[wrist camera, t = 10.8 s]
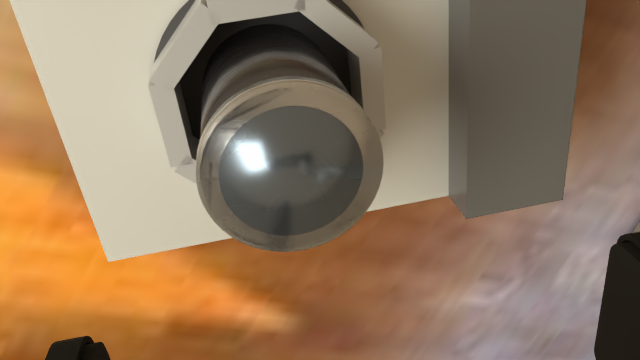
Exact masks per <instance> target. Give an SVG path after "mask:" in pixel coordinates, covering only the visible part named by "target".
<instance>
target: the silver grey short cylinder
mask: <svg viewBox="0 0 640 360" xmlns="http://www.w3.org/2000/svg"><path fill="white" fill-rule="evenodd" d="M383 166H384V162H383V150H382V144H381V141H380V138H379V135H378V133H377V131H376V129H375V127H374V125H373V123H372V122H371V120H370V118H369V117H368V115H367V114H366V113H365V111H364V110H363V108H362V107H361V106H360V105H359V104H358V103H357V102H356V101H355V100H354V99H353V98H352V97H351V96H350V94H349V93H348V91H347V89H346V88H345V86H344V85H343V83H342V82H341V80H340V79H339V77H338V75H337V74H336V72H335V71H334V69H333V68H332V66H331V65H330V63H329V61H328V60H327V58H326V57H325V55H324V54H323V52H322V51H321V50H320V48H319V47H318V46H317V45H316V44H315V43H314V42H313V41H312V40H311V39H310V38H309V37H307V36H306V35H304V34H303V33H301V32H299V31H297V30H295V29H293V28H290V27H286V26H283V25H276V24H261V25H254V26H250V27H247V28H244V29H242V30H239V31H237V32H236V33H234V34H232V35H230V36H229V37H228V38H227V39H225V40H224V41H223V42H222V43H221V44H220V45H219V46H218V47H217V48H216V49H215V51H214V52H213V53H212V55H211V57H210V59H209V60H208V63H207V65H206V68H205V71H204V75H203V81H202V106H201V138H200V141H199V145H198V149H197V158H196V183H197V188H198V193H199V196H200V199H201V201H202V204H203V206H204V208H205V209H206V211H207V213H208V214H209V216H210V217H211V218H212V220H213V221H214V222H215V223H216V224H217V225H218V226H219V227H220V228H221V229H222V230H223V231H224V232H226V233H227V234H228V235H230V236H231V237H233V238H234V239H236V240H238V241H240V242H242V243H244V244H247V245H249V246H252V247H255V248H259V249H263V250H269V251H280V252H288V251H299V250H305V249H309V248H313V247H316V246H319V245H322V244H324V243H327V242H329V241H331V240H333V239H335V238H337V237H338V236H340V235H341V234H343V233H344V232H346V231H347V230H349V229H350V228H351V227H352V226H353V225H354V224H356V223H357V222H358V221H359V219H360V218H361V217H362V216H363V215H364V214H365V213H366V211H367V210H368V208H369V207H370V206H371V204H372V202H373V200H374V199H375V197H376V194H377V192H378V189H379V187H380V183H381V179H382V175H383Z"/></svg>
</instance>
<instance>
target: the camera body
mask: <svg viewBox="0 0 640 360" xmlns="http://www.w3.org/2000/svg"><path fill="white" fill-rule="evenodd" d="M586 1H587V0H10V3H11V5H12V8H13V11H14V13H15V16H16V19H17V21H18V24H19V27H20V29H21V32H22V35H23V37H24V40H25V43H26V45H27V48H28V51H29V53H30V56H31V58H32V61H33V64H34V66H35V69H36V72H37V74H38V77H39V80H40V82H41V85H42V88H43V90H44V93H45V96H46V98H47V101H48V104H49V106H50V109H51V111H52V114H53V117H54V119H55V122H56V125H57V127H58V130H59V133H60V135H61V138H62V141H63V143H64V146H65V149H66V151H67V154H68V157H69V159H70V162H71V164H72V167H73V170H74V172H75V175H76V178H77V180H78V183H79V186H80V188H81V191H82V194H83V196H84V199H85V202H86V204H87V207H88V210H89V212H90V215H91V217H92V220H93V223H94V225H95V228H96V231H97V233H98V236H99V239H100V241H101V244H102V247H103V249H104V252H105V255H106V257H107V260H108V262H110V261H115V260H121V259H126V258H131V257H136V256H141V255H146V254H151V253H157V252H162V251H167V250H172V249H177V248H182V247H187V246H193V245H198V244H203V243H208V242H213V241H218V240H223V239H229V238H233V237H231V236H230V235H228V234H227V233H226V232H224V231H223V230H222V229H221V228H220V227H219V226H218V225H217V224H216V223H215V222H214V221H213V220H212V218H211V217H210V216H209V214H208V213H207V211H206V209H205V208H204V206H203V204H202V201H201V199H200V196H199V193H198V188H197V183H196V158H197V149H198V145H199V141H200V138H201V106H202V81H203V75H204V71H205V68H206V65H207V63H208V60H209V59H210V57H211V55H212V53H213V52H214V51H215V49H216V48H217V47H218V46H219V45H220V44H221V43H222V42H223V41H224V40H225V39H227V38H228V37H229V36H230V35H232V34H234V33H236V32H237V31H239V30H242V29H244V28H247V27H250V26H254V25H261V24H276V25H283V26H286V27H290V28H293V29H295V30H297V31H299V32H301V33H303V34H304V35H306V36H307V37H309V38H310V39H311V40H312V41H313V42H314V43H315V44H316V45H317V46H318V47H319V48H320V50H321V51H322V52H323V54H324V55H325V57H326V58H327V60H328V61H329V63H330V65H331V66H332V68H333V69H334V71H335V72H336V74H337V75H338V77H339V79H340V80H341V82H342V83H343V85H344V86H345V88H346V89H347V91H348V93H349V94H350V96H351V97H352V98H353V99H354V100H355V101H356V102H357V103H358V104H359V105H360V106H361V107H362V108H363V110H364V111H365V113H366V114H367V115H368V117H369V118H370V120H371V122H372V123H373V125H374V127H375V129H376V131H377V133H378V135H379V138H380V141H381V144H382V150H383V162H384V166H383V175H382V179H381V183H380V187H379V189H378V192H377V194H376V197H375V199H374V200H373V202H372V204H371V206H370V207H369V208H368V210H367V211H372V210H378V209H383V208H388V207H393V206H398V205H403V204H408V203H414V202H419V201H424V200H429V199H434V198H439V197H444V196H449V197H450V198H451V200H452V201H453V202H454V204H455V205H456V206H457V208H458V209H459V210H460V212H461V213H462V214H463V216H464V217H465V218H466V219H469V218H474V217H479V216H484V215H489V214H494V213H499V212H504V211H509V210H514V209H519V208H524V207H529V206H534V205H539V204H544V203H549V202H554V201H559V200H563V194H564V186H565V177H566V169H567V160H568V152H569V144H570V135H571V127H572V118H573V110H574V102H575V93H576V85H577V76H578V68H579V59H580V51H581V43H582V34H583V26H584V17H585V9H586ZM367 211H366V212H367Z"/></svg>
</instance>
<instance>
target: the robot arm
mask: <svg viewBox="0 0 640 360" xmlns="http://www.w3.org/2000/svg"><path fill="white" fill-rule="evenodd" d="M594 353H595V357H596V360H640V221H639V223H638V225H637V226H636V228H635V229H634V231H633V232H632V233H630V234H624V235H622V236H620V238H619V239H618V241H617V244H615V245H613V246H612V247H611V250H610V254H609V260H608V267H607V273H606V279H605V285H604V291H603V298H602V304H601V310H600V316H599V322H598V328H597V335H596V341H595V347H594ZM45 360H110V357H109V355H108V352H107V350H106V348H105V346H104V344H103V343H102V342H97V343H94V342H93V340H92V338H91V337H89V336H83V337H78V338H73V339H67V340H62V341H57V342H54V343H53V344H52V345H51V347H50V349H49V351H48V354H47V356H46V359H45Z"/></svg>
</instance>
